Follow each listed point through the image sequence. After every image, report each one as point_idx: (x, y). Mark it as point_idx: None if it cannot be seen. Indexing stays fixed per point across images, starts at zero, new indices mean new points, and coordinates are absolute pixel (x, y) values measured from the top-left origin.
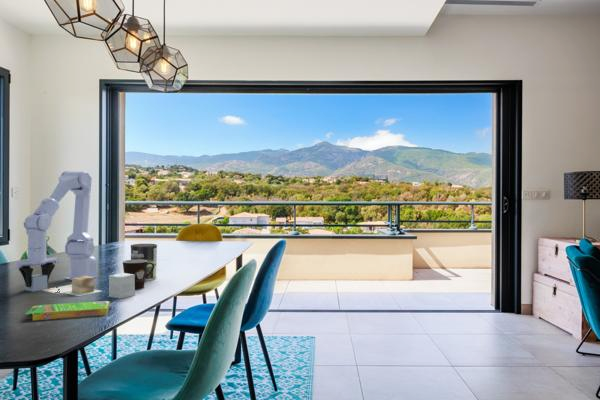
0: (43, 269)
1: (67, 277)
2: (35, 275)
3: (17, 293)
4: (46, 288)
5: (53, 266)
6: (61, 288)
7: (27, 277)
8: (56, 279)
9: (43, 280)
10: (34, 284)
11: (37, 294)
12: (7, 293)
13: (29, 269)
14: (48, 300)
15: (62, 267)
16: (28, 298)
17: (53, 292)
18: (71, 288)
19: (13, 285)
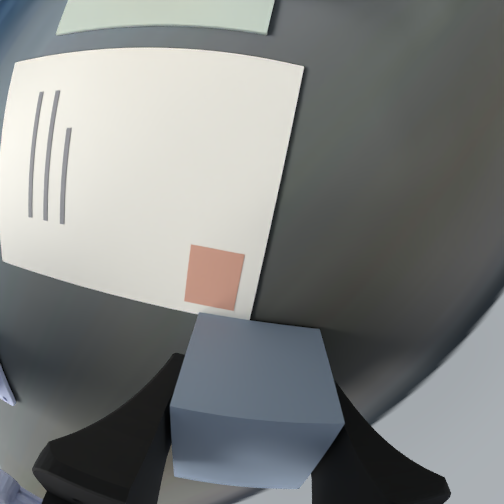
0: (154, 494)
1: (5, 397)
2: (234, 470)
3: (378, 373)
4: (206, 317)
5: (61, 455)
6: (128, 218)
7: (377, 439)
8: (44, 427)
9: (224, 375)
10: (318, 367)
11: (379, 222)
12: (384, 409)
13: (431, 489)
14: (461, 6)
15: (7, 469)
16: (481, 175)
17: (285, 135)
18: (94, 133)
19: (221, 491)
